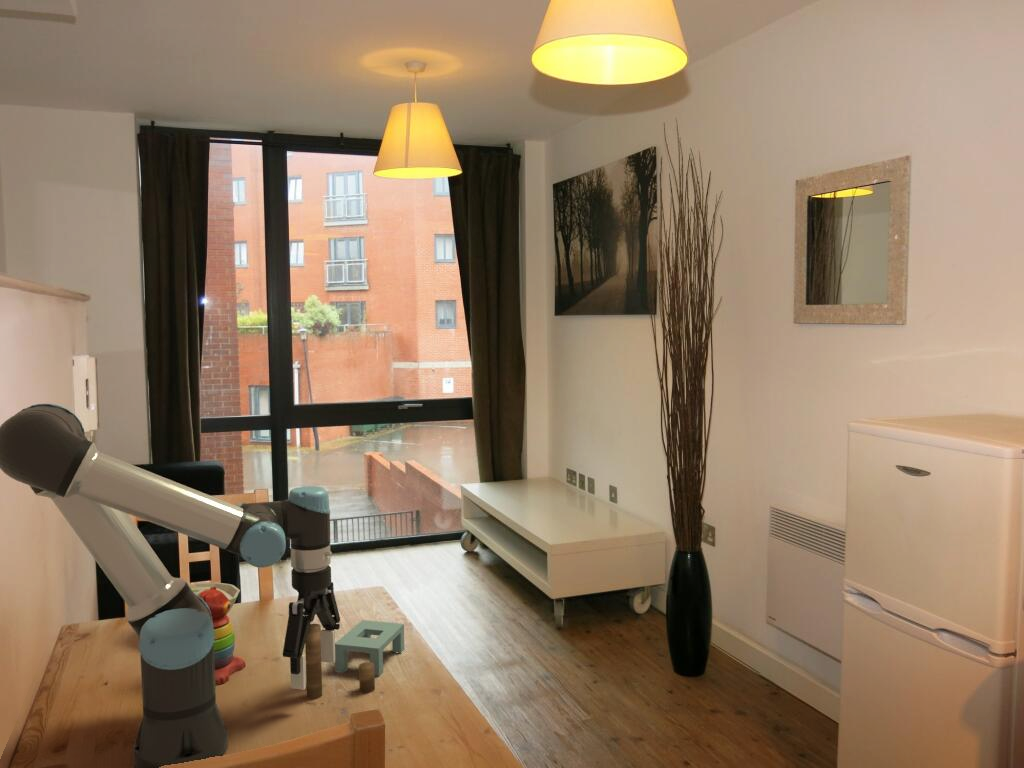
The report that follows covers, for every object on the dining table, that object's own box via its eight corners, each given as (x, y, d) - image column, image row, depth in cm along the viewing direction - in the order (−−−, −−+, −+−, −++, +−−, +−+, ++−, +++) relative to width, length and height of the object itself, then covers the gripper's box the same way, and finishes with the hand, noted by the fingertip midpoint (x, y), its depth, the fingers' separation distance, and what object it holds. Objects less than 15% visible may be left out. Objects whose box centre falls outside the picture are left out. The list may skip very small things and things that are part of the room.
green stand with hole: (379, 676, 174) (378, 648, 173) (335, 671, 176) (334, 643, 176) (404, 650, 187) (403, 623, 187) (362, 645, 190) (362, 619, 189)
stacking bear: (222, 686, 170) (218, 600, 168) (176, 682, 172) (173, 597, 170) (249, 664, 180) (246, 583, 178) (206, 660, 182) (203, 580, 181)
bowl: (154, 624, 203) (152, 583, 202) (237, 612, 211) (236, 573, 210) (154, 654, 186) (152, 610, 185) (245, 640, 193) (243, 598, 192)
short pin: (371, 693, 166) (370, 669, 166) (357, 691, 167) (356, 667, 166) (377, 686, 169) (376, 663, 169) (363, 685, 170) (362, 661, 169)
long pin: (317, 699, 164) (316, 630, 162) (303, 698, 164) (302, 628, 163) (324, 692, 166) (323, 624, 165) (311, 691, 167) (309, 623, 166)
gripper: (298, 588, 151) (301, 704, 152) (355, 550, 174) (357, 652, 176) (260, 584, 152) (264, 699, 154) (322, 548, 176) (324, 648, 177)
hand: (313, 674), depth 165 cm, fingers open, 12 cm apart
